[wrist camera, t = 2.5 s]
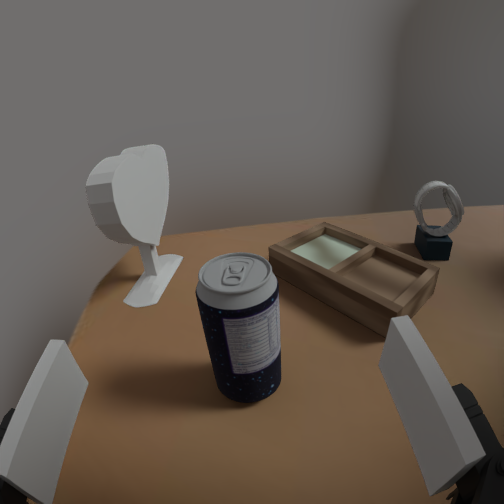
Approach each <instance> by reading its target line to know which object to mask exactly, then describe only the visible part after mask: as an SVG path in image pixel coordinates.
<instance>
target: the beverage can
mask: <svg viewBox="0 0 504 504" xmlns="http://www.w3.org/2000/svg"><path fill="white" fill-rule="evenodd" d="M198 278H199V282H198V284H197V287H196V297H197V302H198V307H199V311H200V316H201V320H202V325H203V329H204V333H205V338H206V342H207V346H208V350H209V354H210V358H211V363H212V367H213V371H214V375H215V378H216V382H217V386H218V388H219V390H220V391H221V393H222V394H223V395H225V396H226V397H227V398H229V399H231V400H234V401H237V402H243V403H250V402H257V401H260V400H263V399H265V398H267V397H269V396H270V395H271V394H273V393H274V392H275V391H276V389H277V388H278V386H279V384H280V382H281V347H280V313H279V285H278V280H277V278H276V277H275V275H274V274H273V272H272V267H271V265H270V263H269V262H268V261H267V260H266V259H265V258H263V257H261V256H259V255H256V254H252V253H229V254H225V255H221V256H218V257H215V258H213V259H211V260H210V261H208V262H207V263H205V264H204V265H203V266H202V268H201V269H200V271H199V274H198Z"/></svg>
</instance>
